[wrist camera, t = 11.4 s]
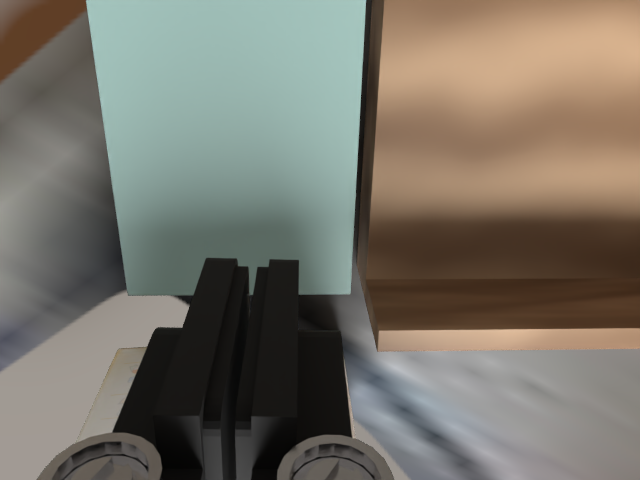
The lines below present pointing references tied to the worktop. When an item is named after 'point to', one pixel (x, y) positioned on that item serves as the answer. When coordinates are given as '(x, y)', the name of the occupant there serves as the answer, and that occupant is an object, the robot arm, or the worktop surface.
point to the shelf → (502, 175)
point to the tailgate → (231, 135)
